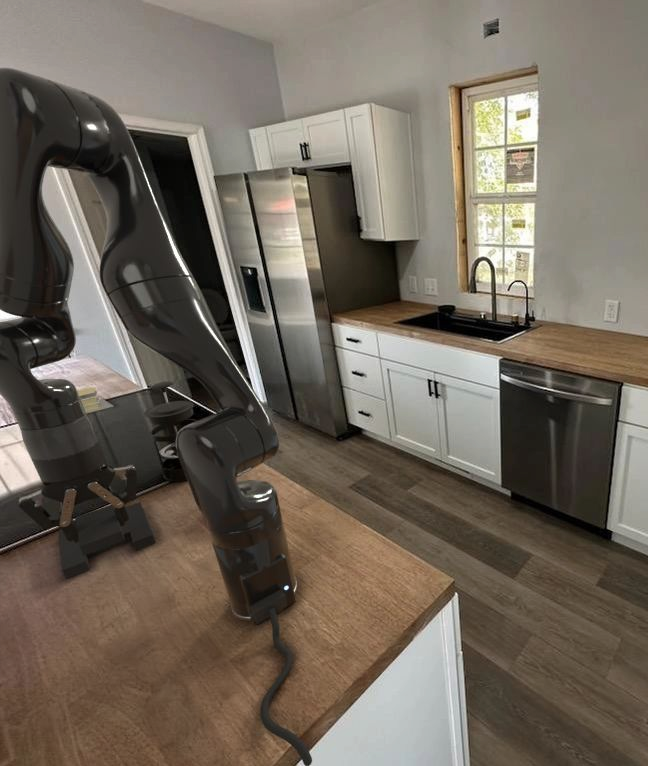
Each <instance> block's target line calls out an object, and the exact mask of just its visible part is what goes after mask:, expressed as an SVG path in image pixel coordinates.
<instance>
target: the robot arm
mask: <svg viewBox="0 0 648 766" xmlns="http://www.w3.org/2000/svg"><path fill="white" fill-rule="evenodd" d="M47 168H55V169H60V170H64V171H72V172H77V173H82V174H85V176H86V177H87V178H88V179H89V181H90V182H91V185H92V186H93V188H94V189H95V191H96V193H97V195H98V198H99V200H100V202H101V205H102V207H103V209H104V212H105V216H106V233H105V236H104V242H103V246H102V250H101V256H100V261H99V281H100V285H101V286H102V289H103V292H104V293H105V295H106V297H107V298H108V299H107V300H108V301H109V303H110V304H111V306H112V308H113V309H114V311H115V313H116V315H117V317H118V318H119V320H120V322H121V324H122V325H123V327H124V329H125V330H126V331H127V332H128V334H129V335H131V337H132V338H134V339H135V340H136V341H138V343H140V344H141V345H142V346H144V347H145V348H147V349H148V350H150V351H151V352H153V353H155V354H156V355H158V356H159V357H161V358H162V359H163V358H164V359H165V360H166V361H168V362H170V363H171V364H173V365H175V366H177V367H178V368H180V369H181V370H183V371H184V372H186V373H188V374H189V375H190V376H192V377H193V378H194V379H195V380H197V381H198V382H199V383H200V384H201V385H202V386H203V387H204V389H205V390H206V391H207V392H208V393H209V395H210V396H211V397H212V399H213V401H214V402H215V404H216V406H217V408H218V409H219V412H216V413H214V414H211V415H209V416H206V417H203V418H201V419H199V420H197V421H196V422H194V423H191V424H186V425H184V426H183V427H181V428H180V429H179V430H178V431H177V432H178V434H177V436H176V450H177V455H178V458H179V461H180V463H181V466H180V467H181V468H183V471H184V473H185V476H186V478H187V484H188V485H189V488H190V491H191V493H192V497H193V499H194V502H195V505H196V506H197V508H198V510H199V511H200V513H201V515H202V517H203V519H204V521H205V525H206V527H207V531H208V534H209V537H210V540H211V544H212V548H213V551H214V554H215V557H216V561H217V564H218V567H219V570H220V571H219V572H220V574H221V577H222V581H223V583H224V587H225V590H226V594H227V597H228V600H229V604H230V609H231V612H232V616H234V618H235V619H236V620H238V621H241V622H245V623H252V624H253V626H254V627H256V626H258V625H260V624H262V623H263V622H265V621H267V620H268V619H269V620H270V624H271V627H272V628H271V629H272V643H273V645H274V646H275V649H276V651H278V652H279V653H280V654H281V655H282V656H283V657H284V659H285V664H284V667H283V669H282V671H281V672H280V674H279V676H278V677H277V678H276V680H275V681H274V682H273V684H271V686H270V687H269V688H268V690H267V692H266V693H265V695H264V696H263V699H262V701H261V704H260V718H261V719H260V720H261V723H262V725H263V726H264V728H265V729H266V730H267V731H268V732H270V733H271V734H273V735H275V736H276V737H278V738H280V739H282V740H283V741H285V742H286V743H288V744H289V745H291V746H292V747H293V748H294V749H295V751H296V752H297V753H298V755H299V757H300V759H301V761H302V763H303V765H304V766H311V765H312V763H313V757H312V755H311V753H310V751H309V749H308V747H307V745H306V744H305V742H303V740H302V739H301V738H300V737H299V736H297V734H295V733H294V732H292V731H291V730H288V729H287V728H286V727H283V726H281V725H279V724H277V723H276V722H275V721H274V720H273V719H272V718H271V716H270V712H269V707H270V702H271V700H272V698H273V696H274V694H275V693H276V692H277V690H278V689H279V687H280V686H281V685H282V684H283V682H284V681H285V680H286V678H287V677H288V675H289V673H290V671H291V669H292V666H293V654H292V651H290V649H289V648H288V647H287V646H285V644H283V642H282V640H281V638H280V637H281V636H280V623H279V618H278V613H280V612H282V611H283V610H285V609H286V608H288V607H290V606H292V605H293V604H295V603H296V602H297V599H296V595H297V593H298V587H299V586H298V584H299V583H298V581H297V577H296V575H295V570H294V566H293V561H292V557H291V552H290V548H289V543H288V538H287V534H286V529H285V526H284V521H283V516H282V515H283V514H282V511H281V505H280V502H279V497H278V493H277V490H276V488H275V486H274V485H273V484H272V483H270V482H267V481H265V480H260V479H251V480H250V479H247V480H241V481H237V478H239V477H240V476H242V475H245V474H246V473H248V472H249V471H251V470H253V469H255V468H257V467H258V466H260V465H262V464H264V463H265V462H267V461H269V460H270V459H272V458H273V457H274V456H276V454H277V453H278V451H279V448H280V438H279V434H278V430H277V428H276V425H275V424H274V421H273V420H272V418H271V416H270V414H269V412H268V410H267V409H266V407H265V405H264V404H263V402H262V401H261V399H260V397H259V396H258V394H257V393H256V391H255V390H254V388H253V387H252V385H251V384H250V382H249V381H248V379H247V377H246V375H245V374H244V373H243V371H242V369H241V367H240V366H239V364H238V362H237V361H236V359H235V357H234V355H233V354H232V352H231V350H230V348H229V346H228V344H227V342H226V341H225V338H224V337H223V335H222V333H221V331H220V328H219V326H218V325H217V323H216V321H215V319H214V317H213V315H212V312H211V310H210V308H209V305H208V304H207V300H206V299H205V297H204V295H203V293H202V291H201V289H200V287H199V285H198V283H197V281H196V279H195V277H194V275H193V274H192V272H191V270H190V269H189V267H188V265H187V263H186V261H185V259H184V258H183V257H184V256H182V254H181V252H180V250H179V248H178V246H177V244H176V241H175V239H174V237H173V235H172V232H171V231H170V228H169V226H168V224H167V222H166V220H165V218H164V216H163V214H162V211H161V209H160V206H159V205H158V202H157V200H156V199H157V198H156V197H155V195H154V192H153V189H152V186H151V184H150V181H149V179H148V176H147V174H146V170H145V168H144V165H143V163H142V160H141V158H140V155H139V152H138V150H137V148H136V145H135V143H134V140H133V138H132V136H131V134H130V132H129V129H128V127H127V125H126V124H125V122H124V121H123V119H122V118H121V116H120V114H118V113H117V111H116V110H115V109H114V107H112V106H111V105H110V104H109V103H108V102H106V101H105V100H103V99H101V98H100V97H98V96H96V95H94V94H92V93H89V92H87V91H84V90H81V89H78V88H75V87H72V86H69V85H66V84H63V83H60V82H57V81H53V80H50V79H47V78H44V77H43V76H39V75H35V74H34V73H33V74H32V73H30V72H26V71H23V70H20V69H15V68H11V67H0V311H2V312H4V313H5V314H9V315H12V316H16V317H19V318H15V319H14V318H13V319H9V320H4V321H0V396H1V397H2V398H3V399H4V400H5V401H6V403H7V405H9V408H10V410H11V412H12V415H13V416H14V418H15V421H16V423H17V425H18V427H19V430H20V433H21V438H22V442H23V444H24V447H25V449H26V451H27V453H28V455H29V457H30V460H31V462H32V464H33V466H34V469H35V470H36V472H37V475H38V477H39V479H40V481H41V483H42V484H41V487H40V489H39V490H37V491H35V492H32V493H31V494H29V493H24V494H21V495H20V496H19V497H18V507H19V509H21V511H23V512H24V513H25V514H26V515H27V516H28V517H29V518H30V519H31V520H33V521H34V523H36V524H37V525H38V526H39V527H40V528H41V529H43V530H49V529H51V528H54V527H59V528H60V529H62V530H63V532H64V534H65V536H66V539H67V540H68V541H70V542H71V541H73V540H74V542H75V543H77V542H79V541H78V531H77V527H76V521H75V519H74V518H73V517H72V516H73V513H74V508H75V506H77V505H80V504H82V503H84V502H86V501H90V500H91V501H92V500H96V499H99V498H101V499H102V500H103V501H105V502H106V503H109V504H110V505H112V506H113V509H114V512H115V515H116V517H117V520H118V521H119V523H120V526H124V525H126V524H125V522H126V521H128V520H129V517H128V514H127V511H126V508H125V507H126V506H125V505H126V504H127V503H129V502H132V501H134V500H136V499H137V476H138V475H137V474H138V473H137V469H136V467H135V464H133V463H128V464H126V465H125V466H122V467H121V466H120V467H113V465H110V464H109V462H108V460H107V458H106V456H105V452H104V450H103V447H102V445H101V443H100V439H99V437H98V433H97V430H96V429H95V427H94V424H93V423H92V421H91V419H90V418H89V416H88V413H87V414H86V412H85V409H84V407H83V404H82V402H81V399H80V397H79V394H78V392H77V388H76V386H75V384H74V383H73V382H72V381H70V380H67V379H65V378H47V379H46V378H44V379H38V378H37V377H36V376H35V375H34V374H33V373H32V370H33V369H37V368H40V367H43V366H47V365H50V364H54V363H57V362H60V361H62V360H65V359H66V358H67V357H69V355H70V354H71V353H72V352H73V350H74V349H75V347H76V344H77V337H76V333H75V329H74V324H73V320H72V315H71V311H70V309H69V304H68V303H69V302H68V301H69V297H70V293H71V287H72V281H73V276H74V271H75V269H74V268H75V265H74V264H75V263H74V258H73V253H72V250H71V248H70V246H69V243H68V242H67V241H66V239H65V237H64V235H63V233H62V232H61V231H60V229H59V228H58V226H57V224H56V223H55V221H54V219H53V218H52V216H51V215H50V213H49V210H48V208H47V206H46V203H45V202H44V201H45V200H44V197H43V196H44V195H43V184H44V178H45V175H46V170H47ZM116 476H118V477H119V479H120V480H121V481H124V492H122V493H120V494H119V493H118V492H116V491H115V490H114V489H113V487H112V486H111V483H112V481H113V479H114V478H115V477H116ZM45 497H46V498H48V499H51V500H54V501H56V502H59V503H60V508H59V514H57V515H52V514H50V513H49V511H48V510H47V509H45V507H43V506H42V505H43V504H44V503H43V498H45Z"/></svg>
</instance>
